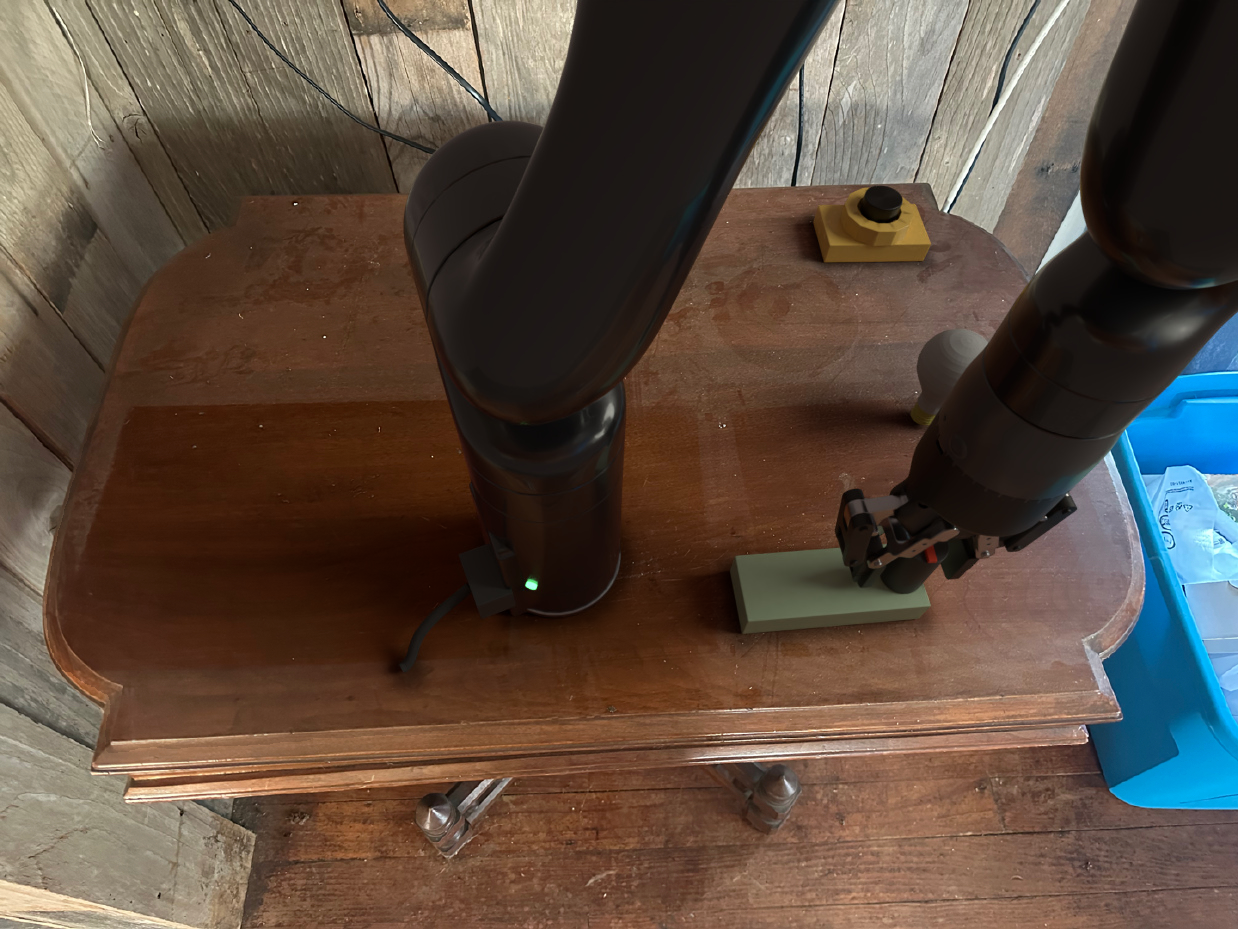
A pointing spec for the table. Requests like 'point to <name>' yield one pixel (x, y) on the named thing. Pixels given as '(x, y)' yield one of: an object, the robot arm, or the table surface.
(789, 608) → the dimmer panel
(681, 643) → the table surface
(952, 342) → the light bulb
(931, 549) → the dimmer knob
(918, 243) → the switch box
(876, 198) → the button
